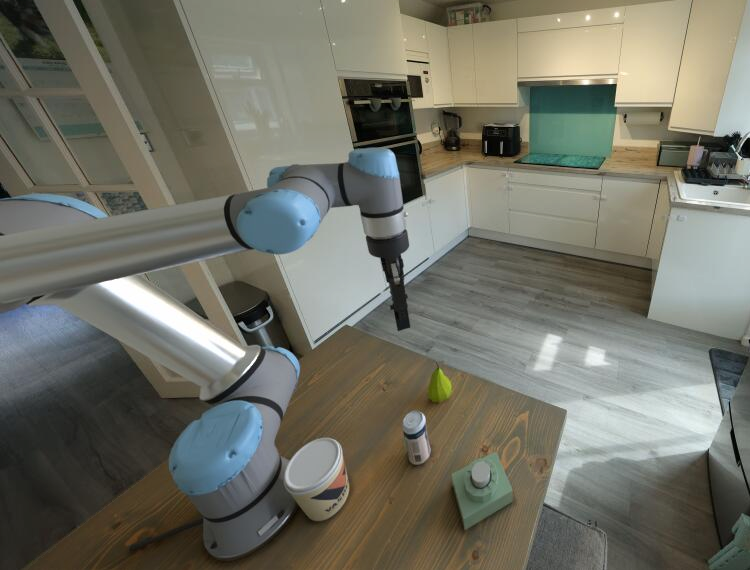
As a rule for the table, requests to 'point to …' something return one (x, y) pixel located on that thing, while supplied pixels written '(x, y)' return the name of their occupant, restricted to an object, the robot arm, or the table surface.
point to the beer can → (416, 437)
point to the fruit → (439, 386)
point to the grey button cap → (480, 474)
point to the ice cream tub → (318, 478)
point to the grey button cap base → (481, 491)
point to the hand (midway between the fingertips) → (403, 327)
